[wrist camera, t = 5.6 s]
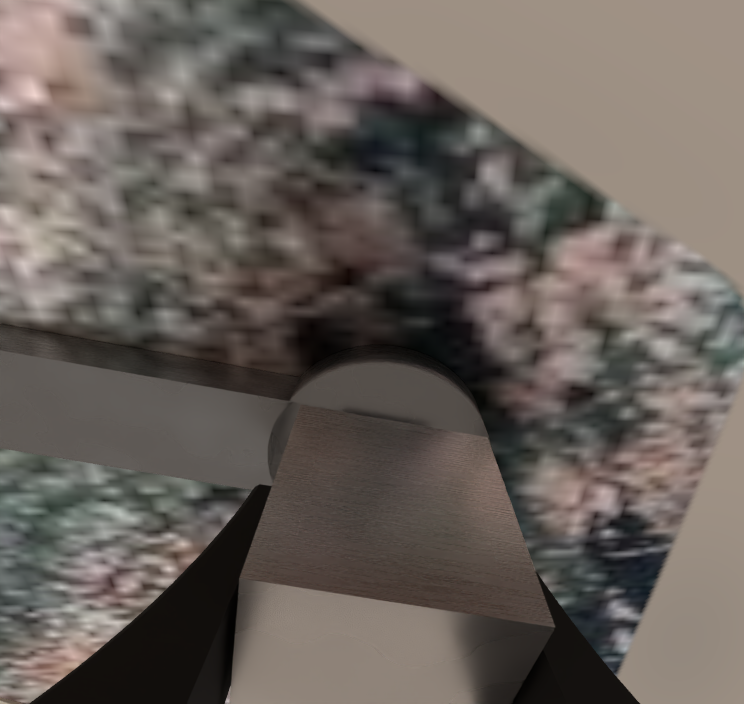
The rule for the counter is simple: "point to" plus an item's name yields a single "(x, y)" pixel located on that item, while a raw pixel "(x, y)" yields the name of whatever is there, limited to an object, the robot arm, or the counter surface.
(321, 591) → the brushed metal cube
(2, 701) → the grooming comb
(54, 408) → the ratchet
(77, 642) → the counter surface
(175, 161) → the counter surface
